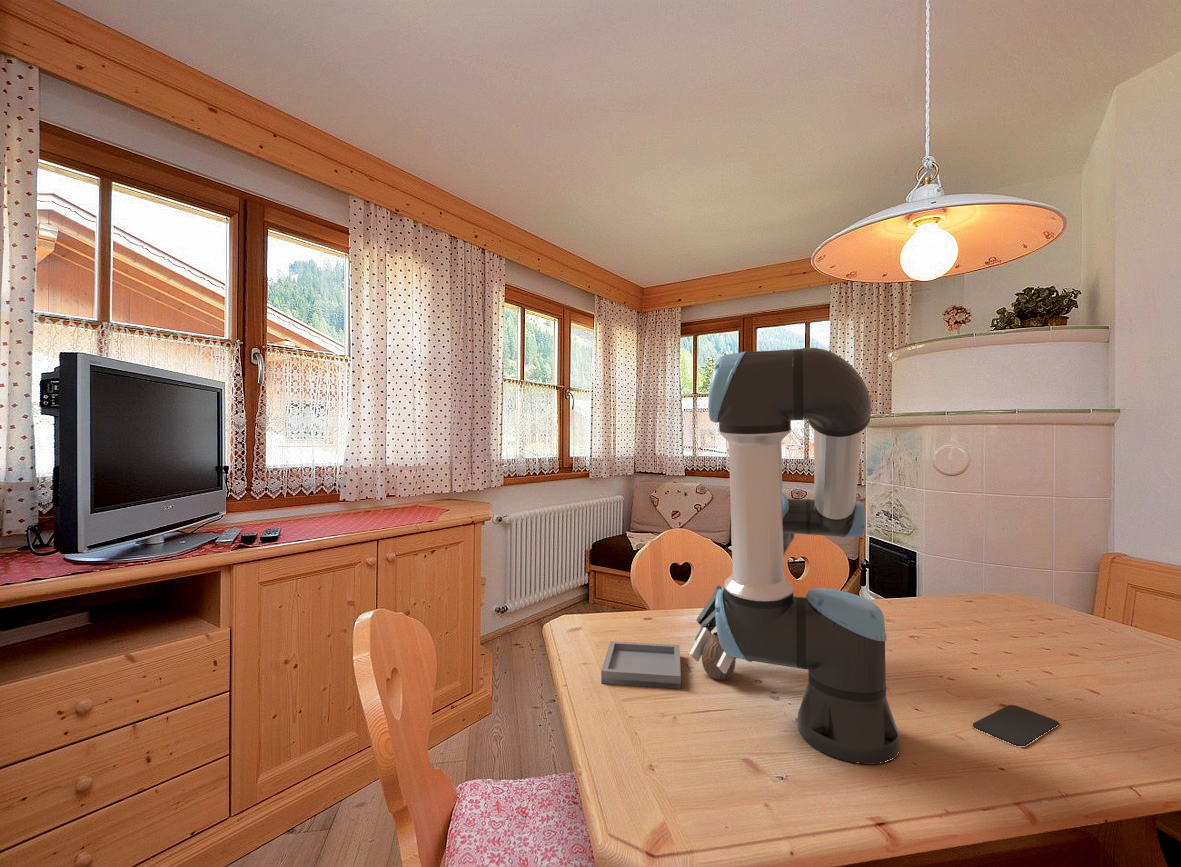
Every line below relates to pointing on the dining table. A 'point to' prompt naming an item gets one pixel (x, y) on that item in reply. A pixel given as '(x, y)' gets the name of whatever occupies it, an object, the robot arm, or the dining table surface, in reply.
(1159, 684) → the dining table surface
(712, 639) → the vase
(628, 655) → the tray
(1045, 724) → the phone
